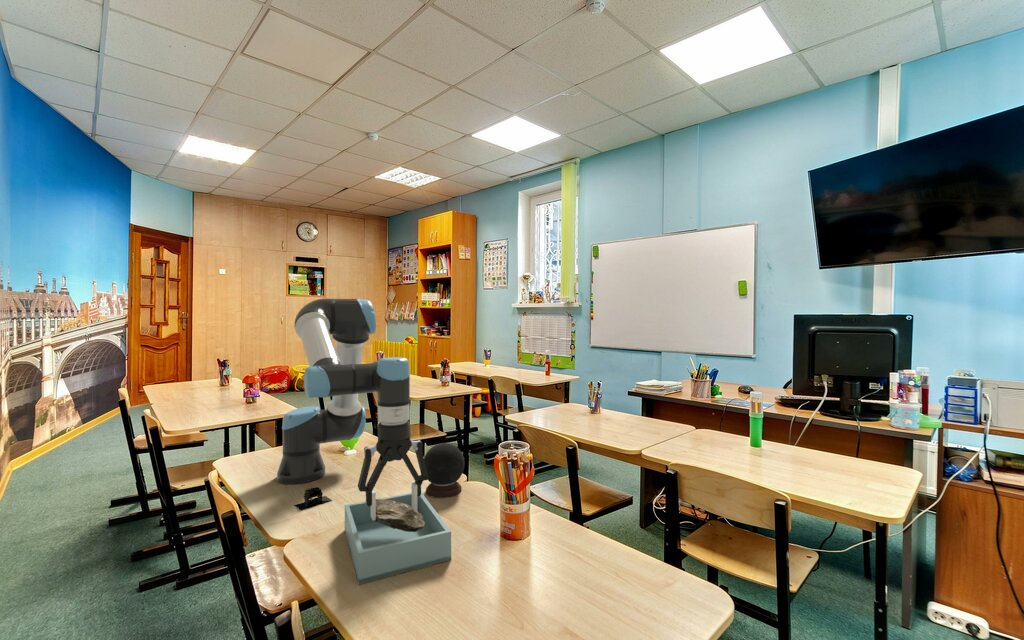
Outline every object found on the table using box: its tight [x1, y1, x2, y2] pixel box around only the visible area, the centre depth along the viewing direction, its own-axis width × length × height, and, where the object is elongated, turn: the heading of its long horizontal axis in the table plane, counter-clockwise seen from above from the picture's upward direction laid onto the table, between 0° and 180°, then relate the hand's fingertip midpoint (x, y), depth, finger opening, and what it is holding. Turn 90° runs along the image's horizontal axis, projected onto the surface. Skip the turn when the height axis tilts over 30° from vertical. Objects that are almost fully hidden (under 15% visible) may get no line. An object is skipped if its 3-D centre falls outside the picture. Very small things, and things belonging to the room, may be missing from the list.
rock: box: [369, 498, 425, 532], centre depth 107 cm, size 18×11×4 cm, turn 71°
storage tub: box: [344, 491, 452, 585], centre depth 107 cm, size 26×20×6 cm
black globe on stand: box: [423, 442, 465, 499], centre depth 139 cm, size 13×13×15 cm
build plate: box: [293, 486, 333, 511], centre depth 131 cm, size 12×7×5 cm, turn 136°
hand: (394, 513), depth 107 cm, fingers closed on rock, 9 cm apart
